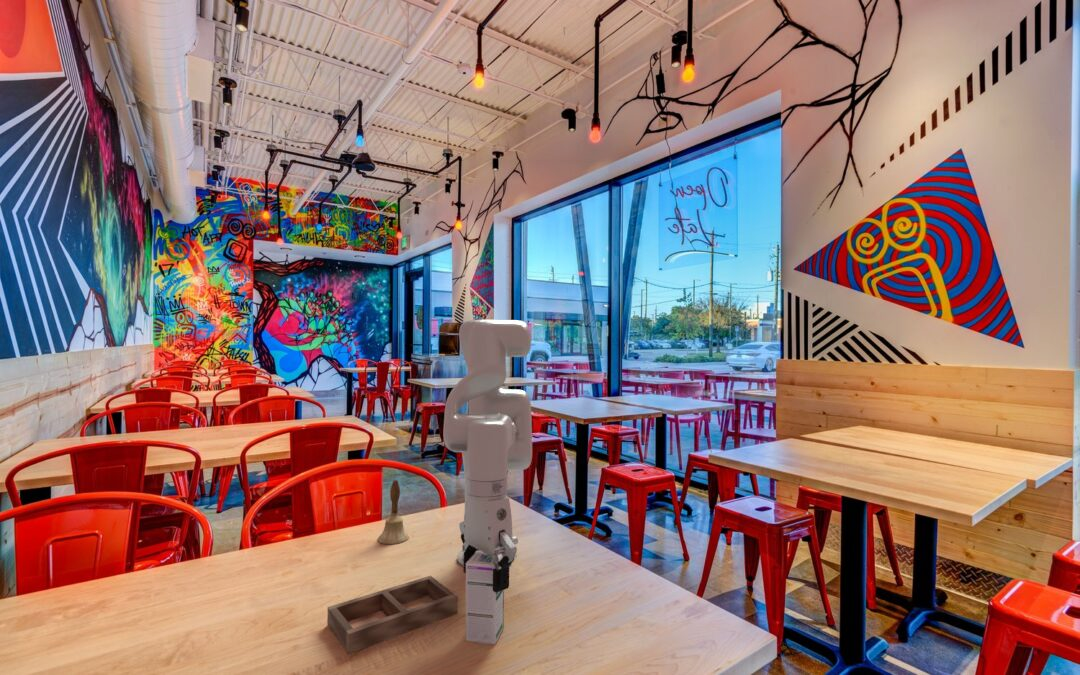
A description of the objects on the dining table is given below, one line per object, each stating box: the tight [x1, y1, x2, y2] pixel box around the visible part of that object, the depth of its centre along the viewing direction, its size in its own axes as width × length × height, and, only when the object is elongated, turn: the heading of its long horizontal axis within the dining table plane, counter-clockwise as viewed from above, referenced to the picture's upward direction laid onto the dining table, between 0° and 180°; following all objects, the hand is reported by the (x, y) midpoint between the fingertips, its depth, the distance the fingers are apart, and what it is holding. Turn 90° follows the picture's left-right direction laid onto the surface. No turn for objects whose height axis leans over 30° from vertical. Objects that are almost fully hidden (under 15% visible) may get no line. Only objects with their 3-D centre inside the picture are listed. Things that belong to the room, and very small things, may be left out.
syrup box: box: [465, 550, 505, 645], centre depth 96 cm, size 6×6×14 cm
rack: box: [326, 575, 459, 655], centre depth 101 cm, size 22×11×4 cm, turn 130°
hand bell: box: [377, 479, 410, 545], centre depth 142 cm, size 8×8×16 cm
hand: (485, 580), depth 96 cm, fingers open, 9 cm apart
